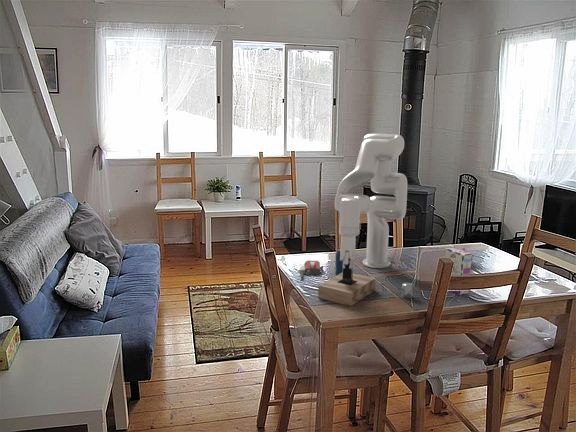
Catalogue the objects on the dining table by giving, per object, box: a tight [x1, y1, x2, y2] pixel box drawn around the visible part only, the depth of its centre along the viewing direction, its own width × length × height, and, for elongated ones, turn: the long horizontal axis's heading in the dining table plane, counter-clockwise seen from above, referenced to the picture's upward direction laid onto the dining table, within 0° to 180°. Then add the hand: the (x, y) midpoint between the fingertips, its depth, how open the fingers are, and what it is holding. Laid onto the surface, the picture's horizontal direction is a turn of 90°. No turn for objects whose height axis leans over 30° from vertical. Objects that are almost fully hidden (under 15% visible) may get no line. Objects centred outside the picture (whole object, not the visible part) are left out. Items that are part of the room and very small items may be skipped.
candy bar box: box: [443, 246, 474, 296], centre depth 208 cm, size 11×5×16 cm, turn 22°
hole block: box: [317, 273, 376, 307], centre depth 204 cm, size 20×14×5 cm
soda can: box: [334, 247, 343, 276], centre depth 223 cm, size 7×7×12 cm
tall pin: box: [342, 257, 355, 285], centre depth 203 cm, size 4×4×11 cm
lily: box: [461, 244, 471, 252], centre depth 243 cm, size 12×12×10 cm
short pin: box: [401, 282, 414, 300], centre depth 202 cm, size 4×4×5 cm
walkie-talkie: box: [299, 260, 321, 279], centre depth 229 cm, size 9×4×20 cm
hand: (347, 275), depth 203 cm, fingers closed on tall pin, 4 cm apart
